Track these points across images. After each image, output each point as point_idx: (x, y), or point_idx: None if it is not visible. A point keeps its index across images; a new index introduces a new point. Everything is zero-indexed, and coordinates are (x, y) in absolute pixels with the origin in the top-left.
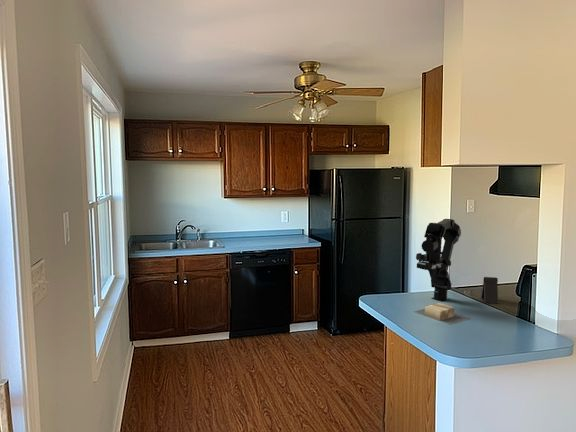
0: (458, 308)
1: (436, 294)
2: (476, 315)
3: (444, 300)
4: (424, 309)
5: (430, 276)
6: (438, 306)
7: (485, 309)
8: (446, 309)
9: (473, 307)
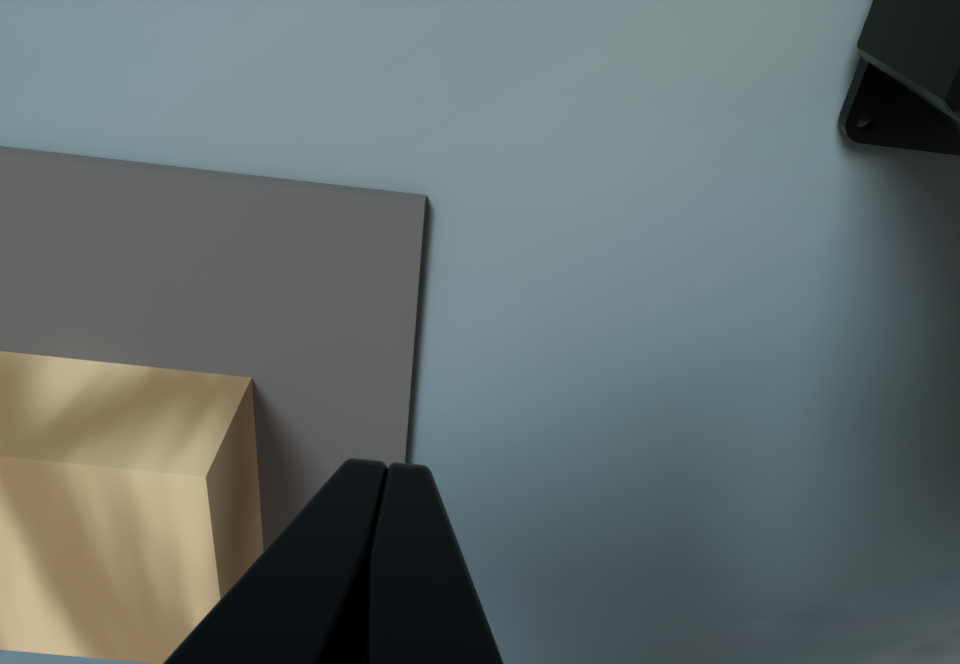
0: (678, 447)
1: (933, 25)
2: (561, 649)
3: (940, 144)
4: (95, 189)
5: (188, 647)
6: (32, 545)
7: (885, 631)
8: (45, 649)
9: (880, 536)
